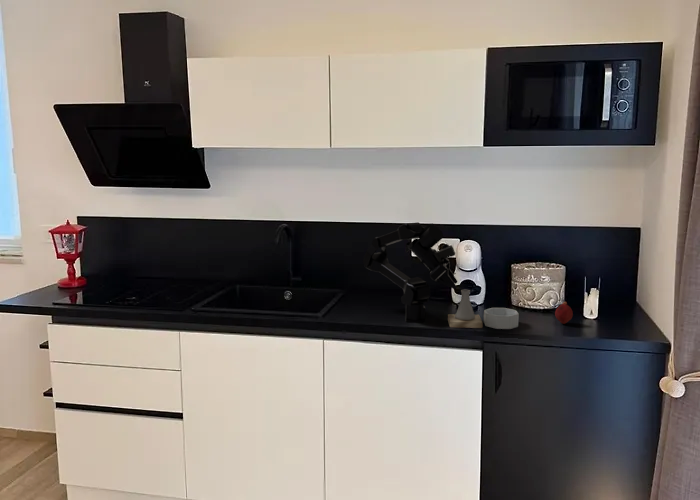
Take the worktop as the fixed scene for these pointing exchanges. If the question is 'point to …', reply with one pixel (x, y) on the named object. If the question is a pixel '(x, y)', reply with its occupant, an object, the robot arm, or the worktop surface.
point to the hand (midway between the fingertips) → (456, 285)
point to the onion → (564, 313)
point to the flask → (465, 307)
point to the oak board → (464, 322)
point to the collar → (501, 318)
